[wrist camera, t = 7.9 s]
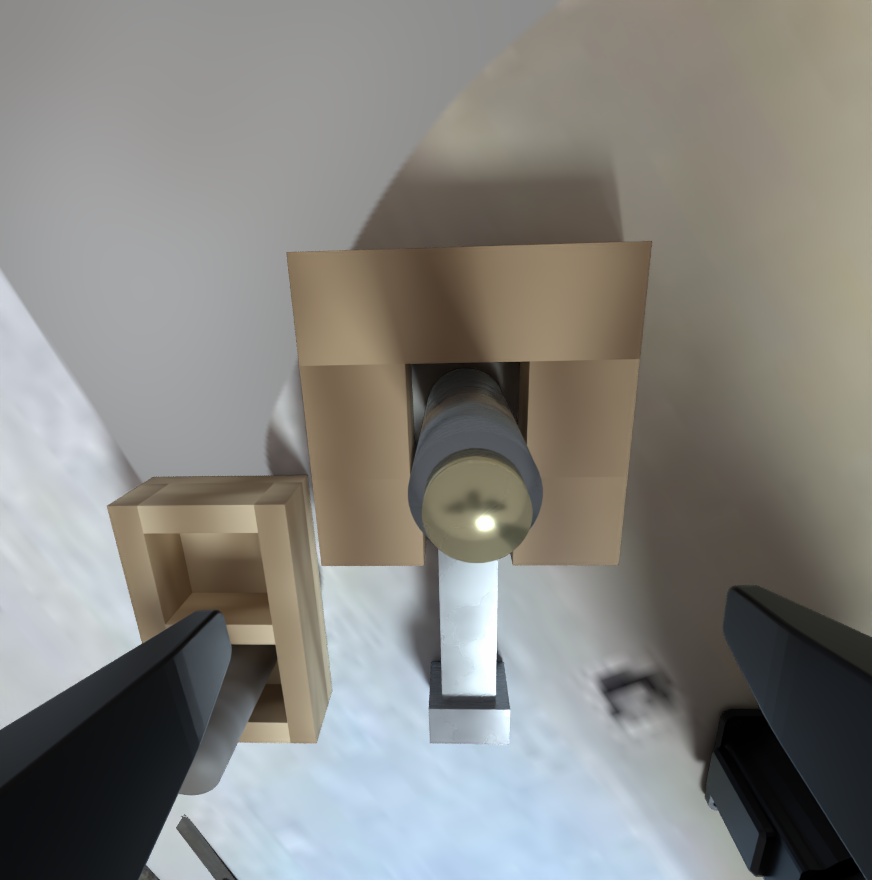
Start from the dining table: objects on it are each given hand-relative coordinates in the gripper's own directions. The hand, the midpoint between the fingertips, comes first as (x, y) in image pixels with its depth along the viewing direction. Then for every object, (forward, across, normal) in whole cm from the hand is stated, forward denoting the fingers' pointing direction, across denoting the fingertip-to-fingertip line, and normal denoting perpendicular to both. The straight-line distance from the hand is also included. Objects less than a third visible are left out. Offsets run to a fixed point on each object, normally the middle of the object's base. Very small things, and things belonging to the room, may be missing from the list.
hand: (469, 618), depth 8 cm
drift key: (+12, 0, +8) cm, 15 cm away
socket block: (+12, 0, -1) cm, 12 cm away
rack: (+12, +11, +8) cm, 18 cm away
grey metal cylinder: (+12, 0, -1) cm, 12 cm away
